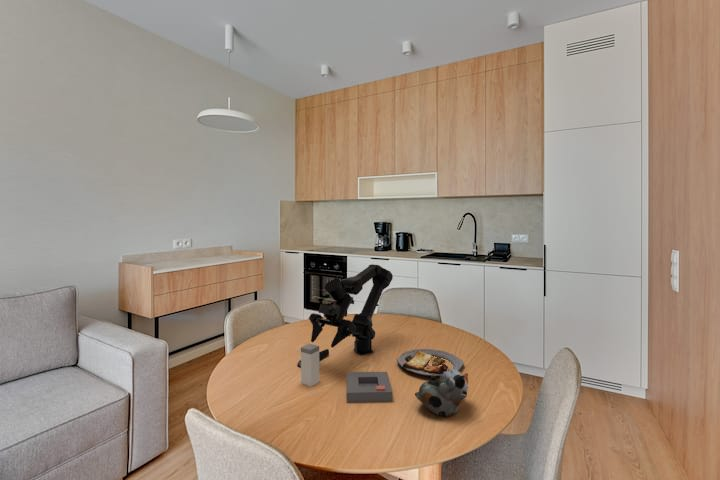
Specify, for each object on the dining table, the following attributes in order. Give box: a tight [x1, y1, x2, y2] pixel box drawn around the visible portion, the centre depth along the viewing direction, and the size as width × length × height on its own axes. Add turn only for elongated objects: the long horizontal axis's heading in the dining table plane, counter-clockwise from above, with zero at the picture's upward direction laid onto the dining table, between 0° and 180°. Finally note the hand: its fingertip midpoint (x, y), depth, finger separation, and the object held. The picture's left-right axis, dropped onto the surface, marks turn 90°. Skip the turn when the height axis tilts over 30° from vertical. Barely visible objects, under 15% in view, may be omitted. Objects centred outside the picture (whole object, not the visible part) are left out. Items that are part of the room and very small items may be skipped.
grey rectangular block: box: [300, 343, 320, 388], centre depth 117 cm, size 4×4×12 cm
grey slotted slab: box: [346, 371, 393, 403], centre depth 111 cm, size 14×14×4 cm
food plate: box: [396, 348, 465, 377], centre depth 130 cm, size 25×23×4 cm
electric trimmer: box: [297, 348, 330, 369], centre depth 135 cm, size 4×16×3 cm, turn 142°
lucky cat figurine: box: [414, 369, 469, 419], centre depth 101 cm, size 15×12×14 cm
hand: (321, 344), depth 121 cm, fingers open, 9 cm apart
